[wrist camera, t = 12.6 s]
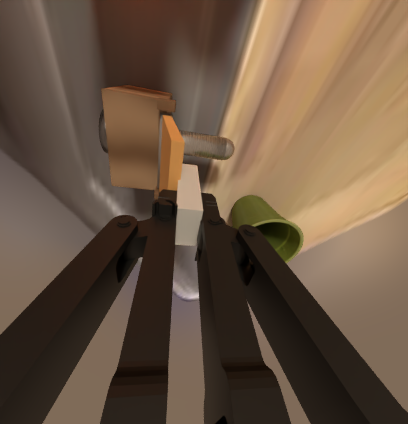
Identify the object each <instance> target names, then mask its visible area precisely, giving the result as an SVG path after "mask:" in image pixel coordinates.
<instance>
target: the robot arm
mask: <svg viewBox="0 0 408 424" xmlns="http://www.w3.org/2000/svg"><path fill="white" fill-rule="evenodd" d="M197 243H198V247H197V252H196V257H195V261H197V269H198V285H199V301H200V317H201V332H202V348H203V365H204V378H205V379H204V380H205V399H204V424H291V422H290V418H289V415H288V412H287V409H286V405H285V402H284V399H283V395H282V392H281V389H280V386H279V384H278V381H277V378H276V376H275V374H274V373H273V371H272V370H271V369H270V368H269V367H268V366H266V365H265V363H264V361H263V358H262V355H261V351H260V347H259V344H258V340H257V336H256V333H255V329H254V325H253V322H252V318H251V315H250V311H249V307H248V304H247V301H248V303H249V305H250V307H251V309H252V311H253V313H254V315H255V317H256V319H257V321H258V323H259V324H260V326H261V328H262V330H263V332H264V334H265V336H266V338H267V340H268V342H269V344H270V346H271V348H272V350H273V351H274V354H275V356H276V358H277V359H278V361H279V363H280V365H281V367H282V369H283V371H284V373H285V375H286V377H287V379H288V381H289V382H290V384H291V387H292V389H293V390H294V392H295V394H296V396H297V398H298V400H299V402H300V404H301V406H302V408H303V410H304V412H305V414H306V416H307V418H308V419H309V421H310V423H311V424H408V412H407V411H405V410H404V409H403V408H402V407H401V405H400V404H399V403H398V402H397V400H396V399H395V398H394V397H393V396H392V394H391V393H390V392H389V390H388V389H387V388H386V387H385V386H384V384H383V383H382V382H381V381H380V379H379V378H378V377H377V376H376V374H375V373H374V372H373V371H372V369H371V368H370V367H369V366H368V364H367V363H366V362H365V361H364V359H363V358H362V357H361V356H360V355H359V353H358V352H357V351H356V350H355V348H354V347H353V346H352V345H351V344H350V342H349V341H348V340H347V339H346V337H345V336H344V335H343V334H342V332H341V331H340V330H339V328H338V327H337V326H336V325H335V324H334V322H333V321H332V320H331V319H330V317H329V316H328V315H327V314H326V312H325V311H324V310H323V309H322V307H321V306H320V305H319V304H318V303H317V301H316V300H315V299H314V298H313V296H312V295H311V294H310V293H309V292H308V290H307V289H306V288H305V286H304V285H303V284H302V283H301V282H300V280H299V279H298V278H297V276H296V275H295V274H294V273H293V272H292V270H291V269H290V268H289V267H288V265H287V264H286V263H285V262H284V260H283V259H282V258H281V257H280V255H279V254H278V253H277V252H276V250H275V249H274V248H273V247H272V245H271V244H270V243H269V242H268V241H267V239H266V238H265V237H264V236H263V234H262V233H261V232H260V231H259V230H258V229H257V228H256V227H254V226H252V225H247V224H244V225H241V226H240V227H239V228H238V229H236V228H233V227H230V226H228V225H226V223H225V221H224V219H222V218H221V217H220V214H219V210H218V206H217V203H216V198H215V197H214V196H213V195H212V194H208V193H201V190H200V183H199V176H198V168H197V165H189V164H182V171H181V180H178V187H177V191H175V190H166V189H163V190H162V191H160V192H159V196H158V199H157V200H155V201H154V202H153V206H152V217H151V218H150V219H147V220H143V221H137V219H136V218H135V217H133V216H130V215H120V216H117V217H115V218H113V219H112V220H111V221H110V222H109V223H108V224H107V225H106V226H105V227H104V228H103V229H102V230H101V231H100V232H99V233H98V234H97V235H96V236H95V238H93V239H92V240H91V242H90V243H89V244H88V245H87V246H86V247H85V248H84V249H83V250H82V251H81V252H80V253H79V254H78V255H77V256H76V257H75V258H74V259H73V260H72V261H71V262H70V263H69V264H68V265H67V266H66V267H65V268H64V269H63V271H62V272H61V273H60V274H59V275H58V276H57V277H56V278H55V279H54V280H53V281H52V282H51V283H50V284H49V285H48V286H47V287H46V288H45V289H44V290H43V291H42V293H40V294H39V295H38V296H37V297H36V298H35V300H34V301H33V302H32V303H31V304H30V305H29V306H28V307H27V308H26V309H25V310H24V311H23V312H22V313H21V314H20V315H19V316H18V317H17V318H16V319H15V320H14V321H13V322H12V323H11V325H10V326H9V327H8V328H7V329H6V330H5V331H4V332H3V333H2V334H1V335H0V424H42V423H43V421H44V420H45V418H46V416H47V414H48V413H49V411H50V409H51V408H52V406H53V404H54V403H55V401H56V399H57V397H58V396H59V394H60V392H61V391H62V389H63V387H64V386H65V384H66V382H67V380H68V379H69V377H70V375H71V374H72V372H73V370H74V369H75V367H76V365H77V363H78V362H79V360H80V358H81V357H82V355H83V353H84V351H85V350H86V348H87V346H88V345H89V343H90V341H91V339H92V338H93V336H94V334H95V333H96V331H97V329H98V328H99V326H100V324H101V322H102V321H103V319H104V317H105V315H106V314H107V312H108V310H109V309H110V307H111V305H112V304H113V302H114V300H115V299H116V297H117V295H118V293H119V292H120V290H121V288H122V287H123V285H124V283H125V281H126V280H127V278H128V276H129V275H130V273H131V271H132V270H133V268H134V266H135V264H136V263H137V261H138V258H140V257H143V259H142V263H141V268H140V272H139V276H138V281H137V285H136V289H135V294H134V298H133V303H132V307H131V311H130V316H129V320H128V324H127V329H126V333H125V337H124V342H123V346H122V350H121V355H120V359H119V363H118V367H117V370H116V372H115V374H114V376H113V378H112V381H111V383H110V386H109V390H108V394H107V397H106V401H105V405H104V409H103V413H102V417H101V422H100V424H166V412H167V393H168V358H169V341H170V323H171V305H172V288H173V271H174V253H175V245H189V246H196V245H197ZM246 299H247V300H246Z"/></svg>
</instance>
